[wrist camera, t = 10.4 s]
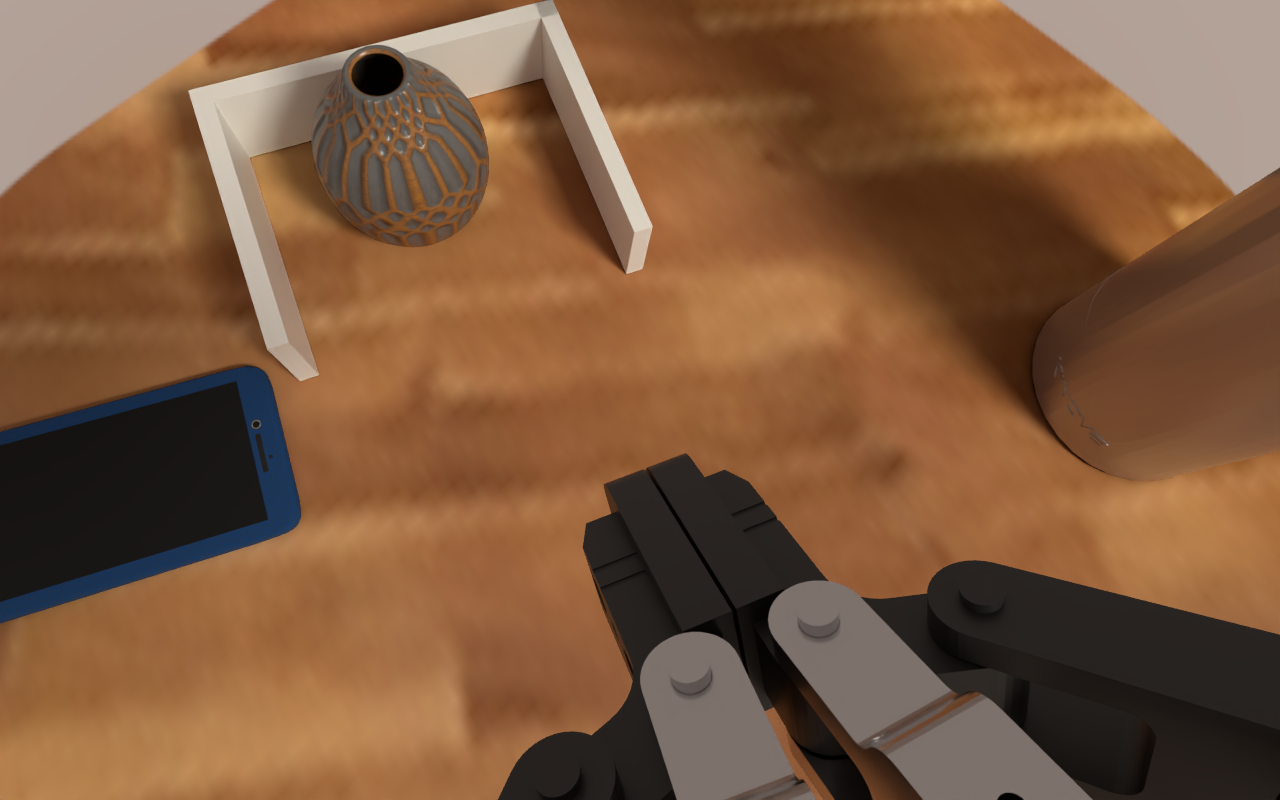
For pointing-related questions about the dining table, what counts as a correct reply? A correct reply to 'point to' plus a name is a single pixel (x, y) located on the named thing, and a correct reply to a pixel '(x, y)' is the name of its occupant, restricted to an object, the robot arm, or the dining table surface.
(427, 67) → the vase
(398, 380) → the dining table surface
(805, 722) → the robot arm
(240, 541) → the cell phone
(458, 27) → the frame
